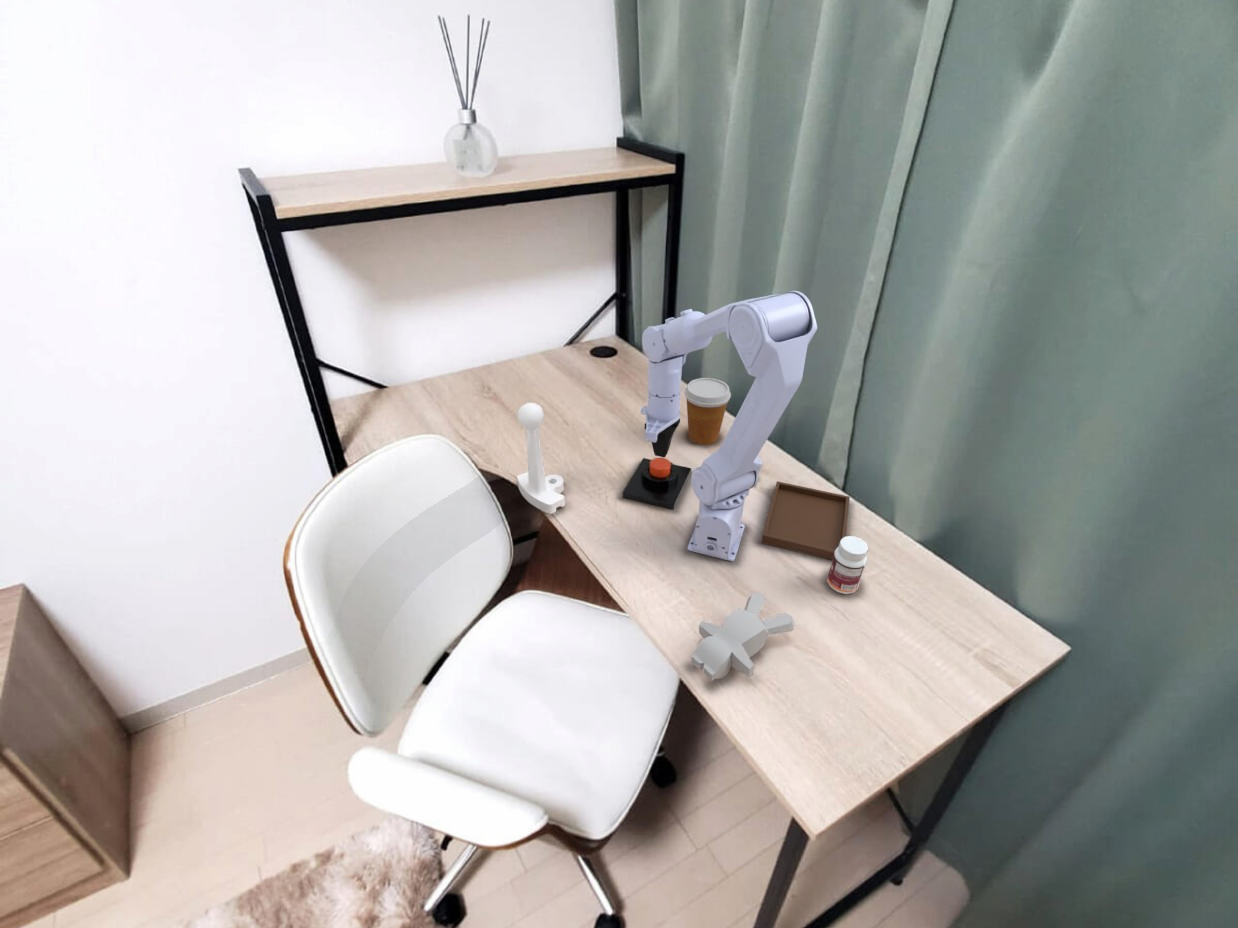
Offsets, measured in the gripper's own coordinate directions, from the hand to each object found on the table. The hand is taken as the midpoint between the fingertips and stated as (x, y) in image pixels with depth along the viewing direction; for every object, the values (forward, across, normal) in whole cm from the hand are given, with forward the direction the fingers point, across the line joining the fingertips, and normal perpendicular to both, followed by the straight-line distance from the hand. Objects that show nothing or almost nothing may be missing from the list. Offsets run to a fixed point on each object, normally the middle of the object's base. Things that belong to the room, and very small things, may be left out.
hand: (660, 454), depth 113 cm
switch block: (+7, +1, 0) cm, 7 cm away
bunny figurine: (+7, +33, +22) cm, 40 cm away
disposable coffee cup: (+7, -19, +4) cm, 21 cm away
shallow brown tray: (+7, +2, +28) cm, 29 cm away
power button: (+4, 0, 0) cm, 4 cm away
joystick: (+7, +11, -19) cm, 23 cm away
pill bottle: (+7, +15, +35) cm, 39 cm away
